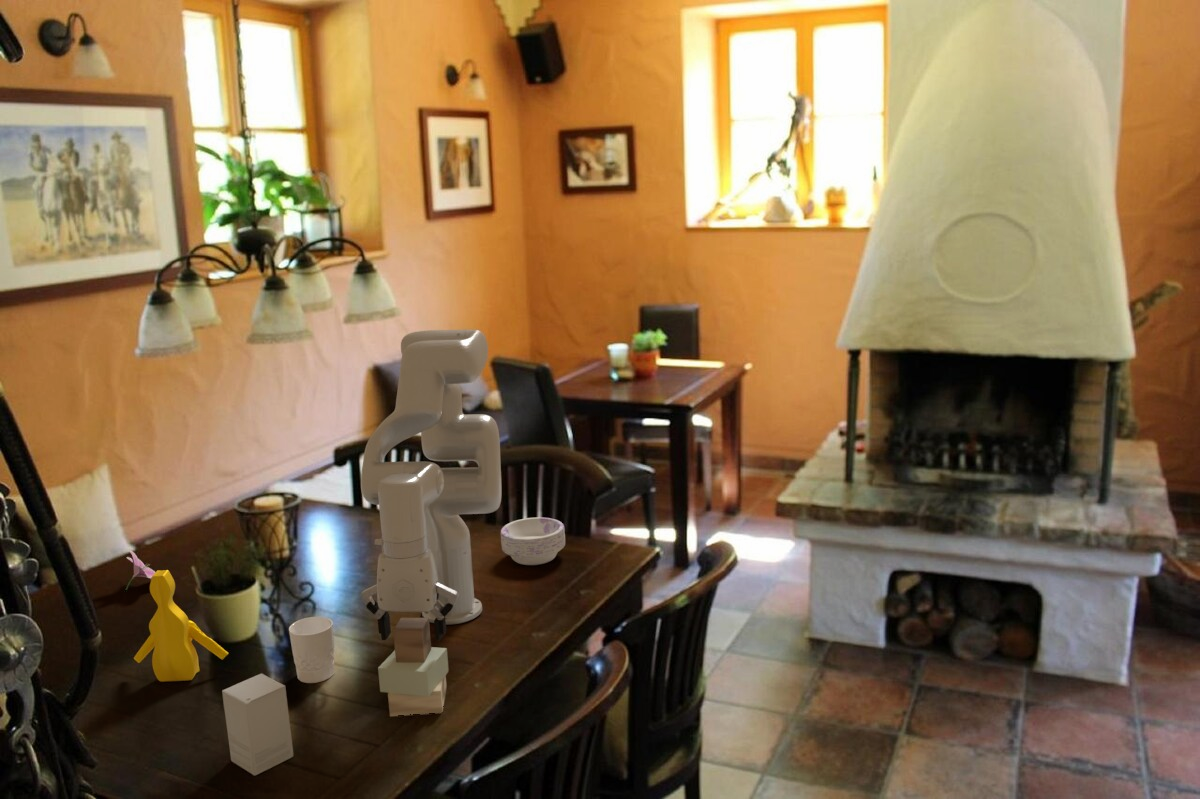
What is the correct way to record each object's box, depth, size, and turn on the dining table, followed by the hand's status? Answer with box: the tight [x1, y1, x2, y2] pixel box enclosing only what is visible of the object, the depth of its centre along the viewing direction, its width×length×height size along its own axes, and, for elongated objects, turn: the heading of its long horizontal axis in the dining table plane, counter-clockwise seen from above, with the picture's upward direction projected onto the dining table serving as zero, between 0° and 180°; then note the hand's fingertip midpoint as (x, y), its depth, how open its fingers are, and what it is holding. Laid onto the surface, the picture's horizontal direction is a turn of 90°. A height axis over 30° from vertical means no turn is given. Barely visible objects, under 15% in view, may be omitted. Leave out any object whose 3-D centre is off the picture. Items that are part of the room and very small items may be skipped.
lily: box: [125, 545, 156, 591], centre depth 239 cm, size 12×12×10 cm
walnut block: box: [392, 617, 432, 663], centre depth 182 cm, size 5×5×6 cm
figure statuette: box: [133, 569, 229, 682], centre depth 194 cm, size 18×8×22 cm, turn 91°
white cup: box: [288, 616, 335, 684], centre depth 195 cm, size 8×8×10 cm
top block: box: [377, 646, 449, 696], centre depth 183 cm, size 9×9×4 cm
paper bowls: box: [500, 516, 566, 566], centre depth 248 cm, size 15×15×8 cm
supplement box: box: [221, 673, 294, 776], centre depth 167 cm, size 7×7×13 cm
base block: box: [387, 674, 448, 717], centre depth 184 cm, size 9×9×4 cm
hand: (413, 637), depth 183 cm, fingers open, 9 cm apart
